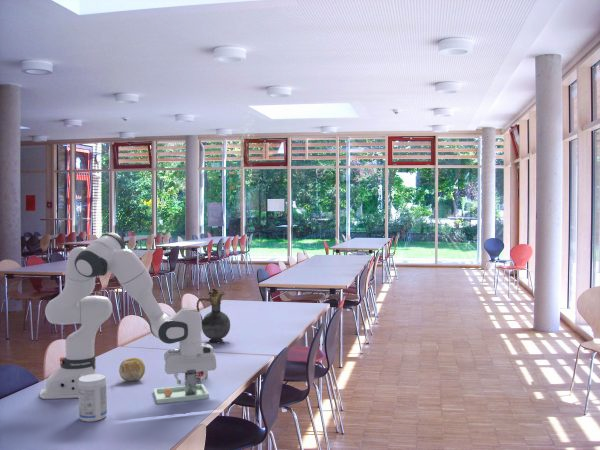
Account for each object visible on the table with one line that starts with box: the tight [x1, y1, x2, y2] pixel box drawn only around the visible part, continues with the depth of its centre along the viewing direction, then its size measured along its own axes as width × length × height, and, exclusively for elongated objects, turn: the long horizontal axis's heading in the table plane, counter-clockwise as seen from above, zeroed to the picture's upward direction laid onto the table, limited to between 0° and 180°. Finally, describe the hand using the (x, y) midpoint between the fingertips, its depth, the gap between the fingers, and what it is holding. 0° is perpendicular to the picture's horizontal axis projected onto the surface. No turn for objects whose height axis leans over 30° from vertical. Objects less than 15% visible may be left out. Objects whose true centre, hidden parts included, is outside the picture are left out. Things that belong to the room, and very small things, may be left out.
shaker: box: [184, 370, 198, 396], centre depth 238 cm, size 5×5×10 cm
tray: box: [152, 383, 210, 404], centre depth 237 cm, size 20×14×2 cm
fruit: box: [118, 357, 146, 382], centre depth 258 cm, size 10×11×10 cm
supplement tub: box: [78, 373, 108, 422], centre depth 214 cm, size 10×10×15 cm
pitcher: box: [196, 288, 231, 344], centre depth 332 cm, size 11×19×30 cm, turn 81°
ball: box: [164, 387, 172, 397], centre depth 235 cm, size 3×3×3 cm
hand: (190, 382), depth 238 cm, fingers open, 8 cm apart
